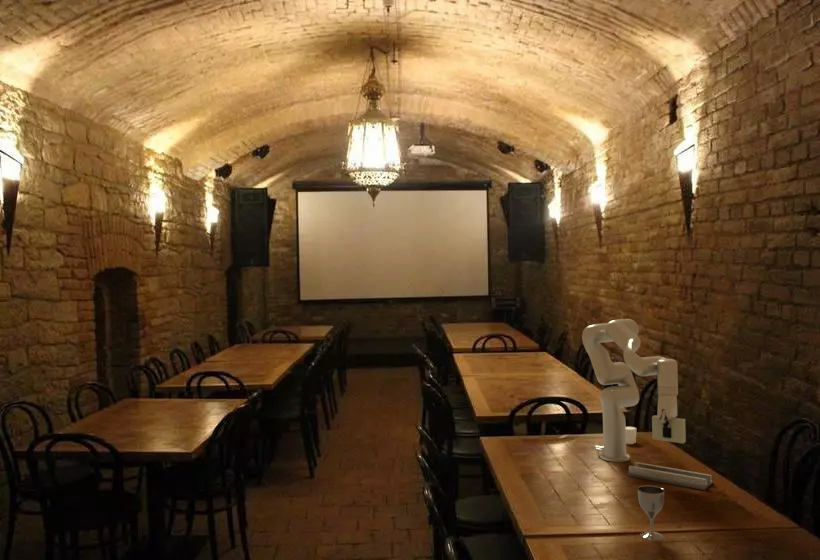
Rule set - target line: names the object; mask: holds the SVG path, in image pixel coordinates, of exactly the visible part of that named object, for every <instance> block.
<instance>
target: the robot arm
mask: <svg viewBox="0 0 820 560" xmlns="http://www.w3.org/2000/svg"><path fill="white" fill-rule="evenodd" d="M639 332H640V327H639V325H638V323H637V322H636V321H635V320H634V319H631V318H620V319H613V320H610V321H609V322H607V323H605V322H604V323H595V324H591V325H588V326H586V327H585V328H584V329H583V331H582V336H581V337H582V338H581V339H582V345H583V346H584V349H585V351H586V353H587V355H588V357H589V359H590V361H591V362H590V363H591V366H592V369H593V370H594V371H593V372H594V374H595V377H596V379H597V382H598V383H599V384H600V385H602V386H608V385H609V386H608V387H605V388H604V389H602V390H601V391H600V394H599V401H600V404H601V410H602V412H601V413H602V434H603V435H602V437H603V439H602V440H603V445H602V446H601V445H595V451H596V452H600V455H599V457H600V459H601V460H602V461H603V460H604V461H606V462H613V463H622V462H623V463H624V462H628V461H630V459H631V456H630V455H629V453H627V444H626V427H627V426H626V424H627V423H626V416H625V414H624V412H623V410H622V409H623V408H628V407H634V406H636V405H638V403H639V401H640V392H639V389H638V386H637V384H636V381H635V378H634V375H633V373H634V374H635V375H637V376H639V377H649V376H650V377H651V376H656V377H657V378H656V381H657V394H658V398H657V415H656V416H657V418H658V419H659V420H660V419H661V423H662V427H663V437H665V438H671V428H670V420H671V419H673V418H677V417H678V398H677V396H678V395H679V382H678V381H679V378H678V362H677V360H675V359H673V358H666V357H663V356H660V355H655V356H646V357H645V356H643V357H641V356H640V355H638V354H637V353H636V352H637V351H638V350H639V348H641V343H642V340H641V338H640V337H639V336H638V334H639ZM611 342H614V343H615V344H616V345H617V346H618V347H619V348H620V349H621V350H622V351H623V353H622V355H623V359H624V360H623V361H624V362H623V361H617V362H616V361H615V362H613V360H612V359H611V356H610V354H609V352H608V350H607V349H606V348H605V346H604V345H602V344H601V343H611ZM610 385H615V386H610ZM666 418H668V420H667V419H666ZM666 421H667V422H668V423H667V422H666Z"/></svg>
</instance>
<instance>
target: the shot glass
mask: <svg viewBox="0 0 820 560" xmlns="http://www.w3.org/2000/svg"><path fill="white" fill-rule="evenodd" d="M636 441H637V427H635V426H626V445H634V443H635V444H636Z"/></svg>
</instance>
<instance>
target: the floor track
mask: <svg viewBox="0 0 820 560" xmlns="http://www.w3.org/2000/svg"><path fill="white" fill-rule="evenodd" d="M626 475H627V477H632V478H638V479H642V480H648V481H652V482H653V481H654V482H660V483H665V484H670V485H674V486H675V485H676V486H679V487H680V486H681V487H686V488H690V487H691V489H697V490H702V491H706V490H707V489H708V488H710V486H711V485H712V484H713V483H714V482H713V480H712V474H709V473H704V472H703V473H702V472H696V471H691V470H690V471H689V470H685V469H679V468H673V467H669V466H668V467H667V466H663V465H657V464H656V465H654V464H649V463H643V462H638V461H635V462H634V465H629V466H628V472H627V474H626Z"/></svg>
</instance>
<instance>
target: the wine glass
mask: <svg viewBox="0 0 820 560" xmlns="http://www.w3.org/2000/svg"><path fill="white" fill-rule="evenodd" d="M637 498H638V503H639V506H640V508H641V509H642V510H643V511H644V513H645V514H646V515H647V516H648V519H649V526H650V531H643V532H644V533H643V532H641V533H642V534H641V533H640V535H639V536H640V537H641V538H642V539H644V540H645V541H646V540H647V541H652V542H656V541H658V542H659V541H662V540H664V538H665V537H664V535H663V534H662V533H659V532H656V531H654V520H655V517H656V516H657V515H658V514H659V513H660V511H662V510H663V506H664V503H665V489H664V488H663V487H660V486H658V485H657V486H656V485H649V484H645V485H640V486H638V487H637Z"/></svg>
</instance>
